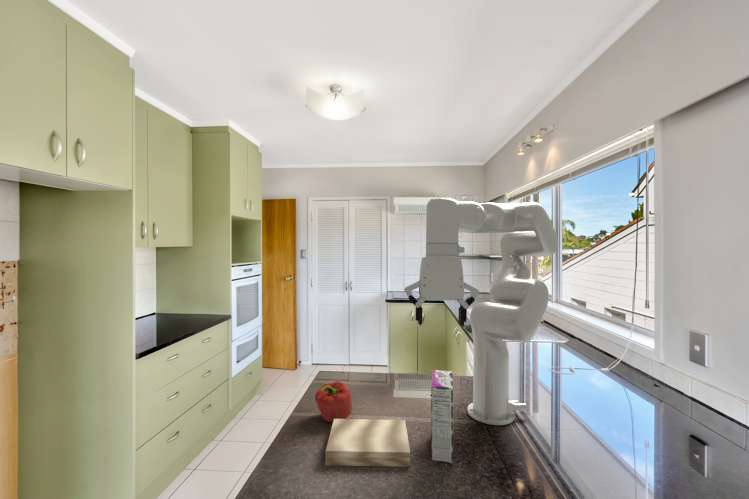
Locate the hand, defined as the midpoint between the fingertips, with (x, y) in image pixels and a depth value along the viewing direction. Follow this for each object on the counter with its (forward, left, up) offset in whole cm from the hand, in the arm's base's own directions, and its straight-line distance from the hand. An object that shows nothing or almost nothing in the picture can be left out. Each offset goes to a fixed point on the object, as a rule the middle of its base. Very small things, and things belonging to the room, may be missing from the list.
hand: (440, 324), depth 79 cm
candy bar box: (-1, 0, -29) cm, 29 cm away
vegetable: (+26, -13, -29) cm, 41 cm away
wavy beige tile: (+16, 0, -29) cm, 33 cm away
